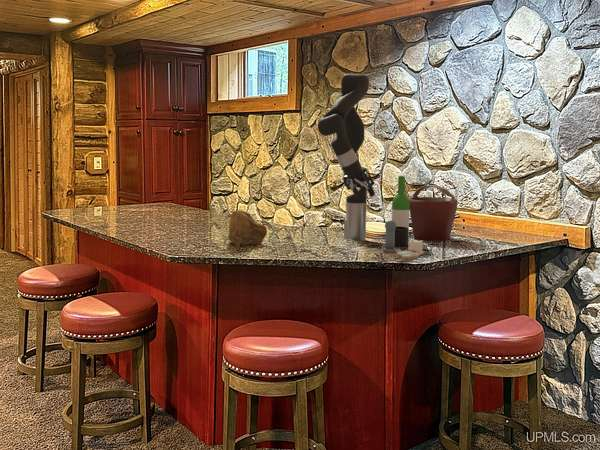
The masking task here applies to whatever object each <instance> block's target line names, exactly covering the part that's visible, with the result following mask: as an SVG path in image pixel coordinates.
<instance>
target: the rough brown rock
mask: <svg viewBox="0 0 600 450" xmlns="http://www.w3.org/2000/svg"><path fill="white" fill-rule="evenodd" d="M228 226H229V227H228V237H227V238H228V240H229V241H230V242H232V243H233V244H234V245H235V246H236V247H239V246H241V245H242V246H246V245H247V246H248V245H251V244H253V245H255V246H260V245H261V244H262V243H263V241H264V239H265V238H266V236H267V234H268V231H267V227H266V226H265V225H264V224H262V223H257V222H256V221H255V219H254V218H253V217H252V215H251V214H250V213H249V212H247V211H245V210H240V209H238V210H233V211H232V212H231V214H230V219H229V225H228Z"/></svg>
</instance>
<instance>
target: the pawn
mask: <svg viewBox="0 0 600 450" xmlns="http://www.w3.org/2000/svg"><path fill="white" fill-rule="evenodd" d="M391 220H392V219H390V220H387V221H386V222H385V223H384V228H385V240H384V243H385V245H384V247H383V248H382V249H383V251H382V252H384V253H396V251H397V247H394V246H395V228H396V223H395V222H394V221H391ZM396 254H397V253H396Z"/></svg>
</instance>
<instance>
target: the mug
mask: <svg viewBox="0 0 600 450" xmlns="http://www.w3.org/2000/svg"><path fill="white" fill-rule="evenodd" d="M408 245H409V241H408V228H407V227H398V226H396V228H395V246H394V248H406V247H407V248H408Z"/></svg>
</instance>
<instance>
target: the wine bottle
mask: <svg viewBox="0 0 600 450" xmlns="http://www.w3.org/2000/svg"><path fill="white" fill-rule="evenodd" d="M405 186H406V176H405V175H398V177H397V194H396V195H395V196H394V197H393V199H392V202H391V219H390V220H391V221H394V222H395V223H396V226H398V227H407V228H408V242H409V241H410V239H409V238H410V237H409V236H410V202H409V197H408V196H407V195H406V193H405V192H406V187H405Z"/></svg>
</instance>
